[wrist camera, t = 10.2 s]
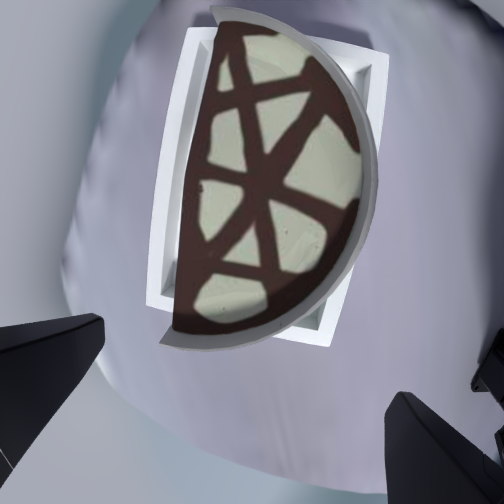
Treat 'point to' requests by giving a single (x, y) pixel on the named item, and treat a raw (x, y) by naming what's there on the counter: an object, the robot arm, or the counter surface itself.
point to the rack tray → (177, 151)
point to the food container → (269, 187)
